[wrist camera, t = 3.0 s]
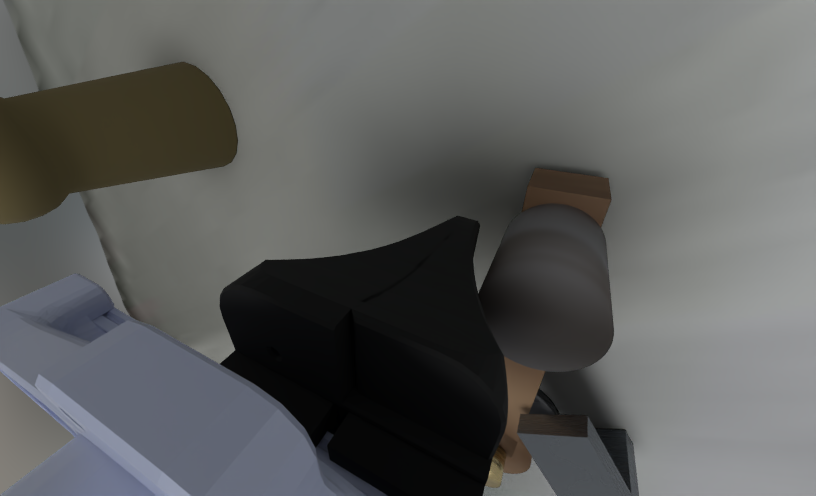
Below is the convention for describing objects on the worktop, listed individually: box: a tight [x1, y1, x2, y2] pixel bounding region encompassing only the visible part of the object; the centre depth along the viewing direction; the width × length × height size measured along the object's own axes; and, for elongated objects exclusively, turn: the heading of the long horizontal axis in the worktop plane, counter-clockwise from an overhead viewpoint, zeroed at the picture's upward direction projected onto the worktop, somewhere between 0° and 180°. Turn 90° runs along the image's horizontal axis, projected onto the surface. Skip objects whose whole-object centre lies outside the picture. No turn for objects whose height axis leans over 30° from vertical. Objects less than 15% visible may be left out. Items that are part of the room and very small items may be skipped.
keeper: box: [517, 414, 639, 496], centre depth 16 cm, size 3×6×4 cm, turn 35°
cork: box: [0, 62, 238, 224], centre depth 15 cm, size 6×6×11 cm
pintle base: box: [485, 389, 559, 488], centre depth 19 cm, size 7×7×4 cm
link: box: [478, 168, 614, 474], centre depth 14 cm, size 18×4×6 cm, turn 179°
